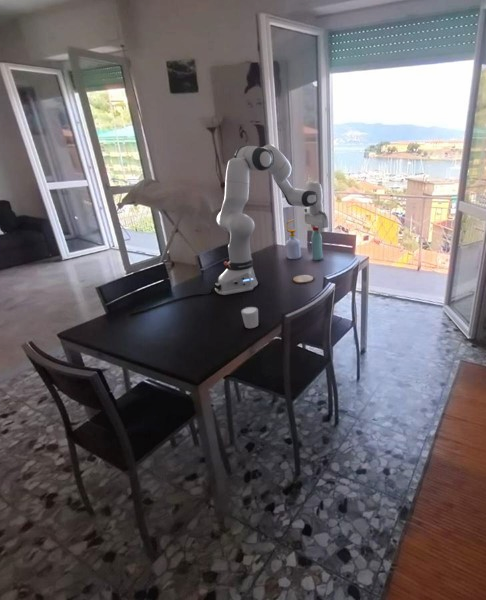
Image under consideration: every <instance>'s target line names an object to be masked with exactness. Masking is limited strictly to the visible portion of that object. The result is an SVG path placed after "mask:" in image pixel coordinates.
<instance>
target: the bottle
mask: <svg viewBox="0 0 486 600" xmlns="http://www.w3.org/2000/svg"><path fill="white" fill-rule="evenodd" d="M310 238H311V256H312V257H311V258H312V259H313V260H314V261H317V260H318V261H319V260H322V259H323V237H322V233H321V234H318V233H317V231H314V232H313V231H312V234H311V237H310Z"/></svg>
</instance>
